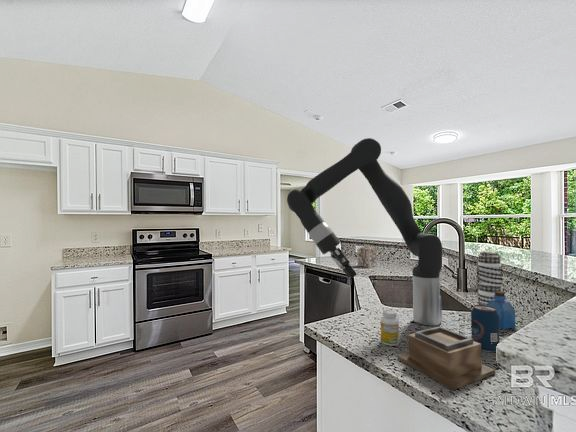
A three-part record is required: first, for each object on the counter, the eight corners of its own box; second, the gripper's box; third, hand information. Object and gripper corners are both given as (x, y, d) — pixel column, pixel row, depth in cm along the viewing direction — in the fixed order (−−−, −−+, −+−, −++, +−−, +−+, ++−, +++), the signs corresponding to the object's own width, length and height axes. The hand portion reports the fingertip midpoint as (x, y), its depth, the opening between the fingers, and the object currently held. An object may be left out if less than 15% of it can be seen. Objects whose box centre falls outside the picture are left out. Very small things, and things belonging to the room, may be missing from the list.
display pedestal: (437, 347, 85) (437, 321, 85) (495, 373, 70) (494, 341, 70) (397, 359, 78) (397, 329, 78) (452, 390, 64) (451, 354, 64)
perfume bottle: (485, 323, 105) (485, 291, 105) (497, 321, 107) (496, 289, 107) (503, 329, 99) (503, 295, 99) (515, 327, 101) (514, 293, 101)
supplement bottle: (384, 337, 93) (384, 307, 93) (401, 341, 89) (401, 311, 89) (378, 343, 89) (377, 311, 89) (395, 348, 85) (395, 315, 85)
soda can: (466, 343, 88) (465, 304, 88) (487, 342, 88) (486, 303, 89) (483, 353, 81) (482, 311, 81) (506, 352, 82) (505, 310, 82)
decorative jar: (365, 264, 247) (365, 244, 248) (377, 266, 238) (377, 244, 239) (357, 266, 239) (357, 245, 240) (369, 267, 231) (368, 245, 231)
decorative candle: (509, 316, 112) (507, 253, 113) (483, 314, 114) (482, 252, 115) (497, 309, 121) (495, 250, 122) (473, 307, 123) (472, 250, 124)
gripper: (334, 228, 93) (365, 269, 89) (331, 234, 107) (358, 269, 103) (315, 241, 93) (346, 283, 89) (315, 245, 107) (341, 281, 103)
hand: (352, 276), depth 96 cm, fingers open, 8 cm apart
